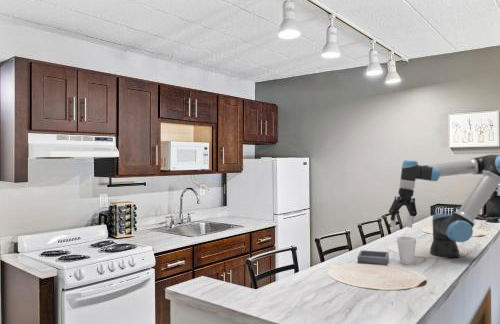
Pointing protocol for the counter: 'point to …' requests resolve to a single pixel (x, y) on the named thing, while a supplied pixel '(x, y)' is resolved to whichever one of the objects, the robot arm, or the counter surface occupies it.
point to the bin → (373, 257)
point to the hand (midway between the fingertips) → (401, 227)
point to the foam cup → (406, 249)
